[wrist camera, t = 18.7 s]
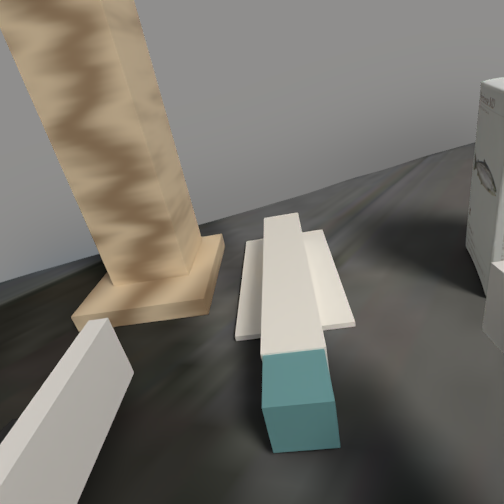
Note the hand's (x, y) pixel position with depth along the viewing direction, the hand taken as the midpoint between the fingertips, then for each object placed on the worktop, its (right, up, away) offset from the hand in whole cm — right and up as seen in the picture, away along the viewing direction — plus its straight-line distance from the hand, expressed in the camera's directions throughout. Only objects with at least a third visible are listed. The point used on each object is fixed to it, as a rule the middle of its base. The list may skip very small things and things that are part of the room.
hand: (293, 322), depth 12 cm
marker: (+1, -2, +13) cm, 13 cm away
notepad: (+2, 0, +18) cm, 18 cm away
